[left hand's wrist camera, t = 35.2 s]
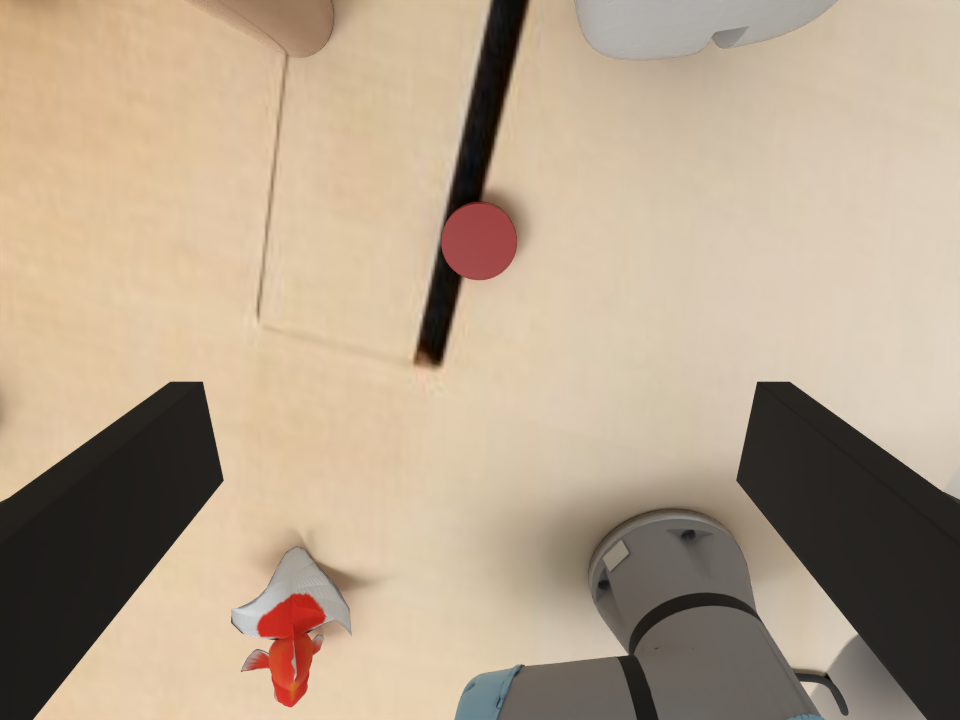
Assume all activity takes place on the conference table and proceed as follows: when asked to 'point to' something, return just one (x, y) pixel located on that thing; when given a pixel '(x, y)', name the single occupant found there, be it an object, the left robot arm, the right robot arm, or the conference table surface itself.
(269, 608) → the fish
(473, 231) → the lid
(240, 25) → the jar
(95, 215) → the conference table surface
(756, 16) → the projector
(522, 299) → the conference table surface
